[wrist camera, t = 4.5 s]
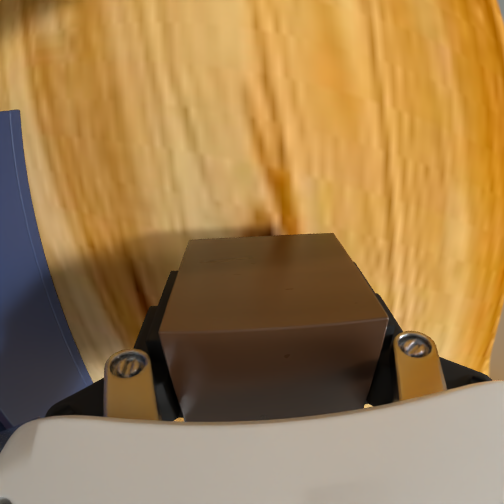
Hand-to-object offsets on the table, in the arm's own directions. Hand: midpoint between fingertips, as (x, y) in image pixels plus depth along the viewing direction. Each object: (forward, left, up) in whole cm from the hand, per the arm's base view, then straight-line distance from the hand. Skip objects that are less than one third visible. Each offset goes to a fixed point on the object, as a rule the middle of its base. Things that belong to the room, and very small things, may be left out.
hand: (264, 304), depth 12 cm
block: (0, 0, 0) cm, 0 cm away
